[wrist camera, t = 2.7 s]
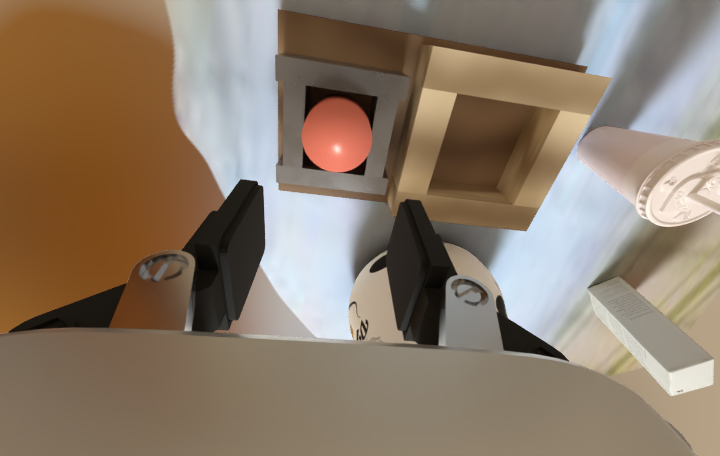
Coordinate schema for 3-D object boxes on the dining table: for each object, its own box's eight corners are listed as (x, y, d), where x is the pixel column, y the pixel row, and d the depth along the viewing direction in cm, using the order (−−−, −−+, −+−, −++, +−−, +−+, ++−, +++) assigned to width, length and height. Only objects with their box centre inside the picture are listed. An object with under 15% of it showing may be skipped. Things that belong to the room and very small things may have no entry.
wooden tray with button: (281, 10, 21) (266, 4, 17) (575, 65, 24) (622, 71, 20) (281, 183, 29) (270, 208, 25) (504, 209, 32) (528, 236, 28)
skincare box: (625, 300, 41) (715, 385, 31) (593, 312, 42) (669, 398, 32) (619, 273, 38) (717, 358, 28) (585, 287, 39) (667, 373, 29)
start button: (308, 88, 22) (303, 96, 19) (374, 98, 22) (378, 107, 20) (305, 153, 24) (300, 168, 22) (364, 161, 25) (366, 176, 22)
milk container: (321, 291, 38) (304, 460, 23) (417, 199, 31) (485, 356, 16) (413, 341, 44) (448, 497, 29) (510, 274, 37) (619, 435, 22)
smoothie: (551, 145, 28) (697, 224, 16) (620, 94, 26) (848, 144, 14) (577, 187, 31) (719, 281, 19) (642, 144, 28) (849, 221, 17)
